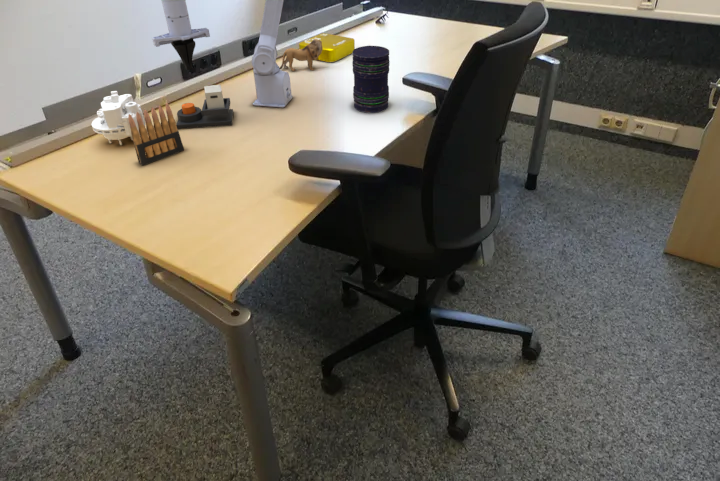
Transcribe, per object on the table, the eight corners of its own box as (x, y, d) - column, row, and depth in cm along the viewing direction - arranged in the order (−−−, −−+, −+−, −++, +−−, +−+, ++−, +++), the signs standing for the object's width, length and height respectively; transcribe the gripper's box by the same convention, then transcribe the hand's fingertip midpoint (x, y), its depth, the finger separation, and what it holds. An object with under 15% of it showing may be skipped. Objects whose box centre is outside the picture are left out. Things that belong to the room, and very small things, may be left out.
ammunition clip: (180, 147, 125) (168, 100, 118) (184, 150, 124) (172, 102, 117) (138, 162, 119) (123, 114, 112) (142, 165, 118) (126, 116, 111)
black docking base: (233, 112, 141) (231, 102, 139) (231, 125, 135) (229, 114, 133) (181, 116, 140) (178, 106, 138) (177, 129, 133) (174, 118, 131)
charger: (224, 104, 138) (220, 84, 134) (225, 111, 134) (221, 91, 131) (208, 106, 137) (204, 86, 134) (208, 113, 133) (204, 93, 130)
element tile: (332, 63, 172) (331, 48, 169) (297, 56, 178) (296, 42, 175) (357, 51, 182) (356, 37, 179) (322, 44, 188) (322, 31, 185)
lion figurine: (322, 64, 171) (320, 36, 166) (324, 69, 167) (323, 41, 162) (278, 68, 169) (275, 40, 163) (279, 73, 165) (276, 45, 159)
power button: (196, 109, 137) (194, 102, 135) (195, 114, 134) (193, 107, 133) (184, 110, 136) (182, 103, 135) (182, 115, 134) (180, 108, 132)
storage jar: (372, 116, 138) (372, 60, 129) (346, 106, 143) (344, 52, 134) (396, 104, 143) (397, 50, 134) (369, 96, 149) (369, 43, 140)
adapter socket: (230, 103, 139) (229, 97, 138) (228, 114, 133) (227, 108, 132) (205, 104, 138) (204, 99, 137) (202, 116, 132) (201, 110, 131)
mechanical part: (109, 130, 133) (94, 86, 126) (155, 130, 133) (142, 85, 126) (90, 150, 124) (72, 104, 117) (139, 150, 124) (124, 104, 117)
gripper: (153, 23, 125) (166, 78, 134) (209, 14, 132) (219, 66, 140) (144, 17, 130) (158, 70, 138) (199, 8, 136) (209, 60, 145)
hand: (188, 68), depth 139 cm, fingers closed
